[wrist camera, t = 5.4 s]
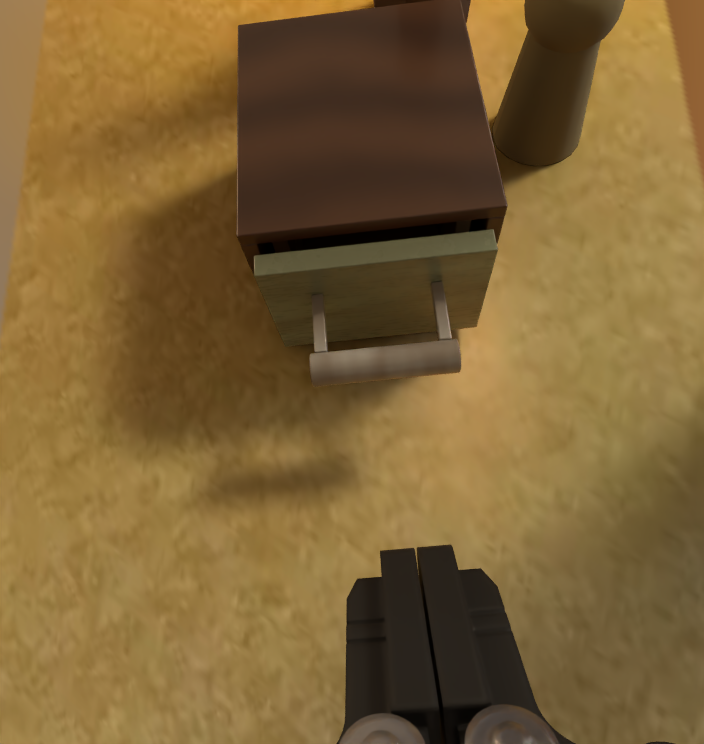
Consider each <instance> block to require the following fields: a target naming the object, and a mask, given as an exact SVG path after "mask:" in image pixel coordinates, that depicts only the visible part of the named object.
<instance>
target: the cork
mask: <svg viewBox="0 0 704 744" xmlns="http://www.w3.org/2000/svg"><path fill="white" fill-rule="evenodd" d="M624 2H625V0H525V4H524V6H525V20H526V25H527V27H528V29H529V30H528V33H527V35H526V38H525V41H524V44H523V46H522V49H521V52H520V54H519V57H518V60H517V63H516V65H515V68H514V71H513V73H512V76H511V79H510V82H509V84H508V87H507V90H506V92H505V95H504V98H503V101H502V103H501V106H500V109H499V111H498V114H497V117H496V120H495V122H494V125H493V128H492V131H493V140H494V142H495V143H496V145H497V147H498V149H499V150H500V151H501V152H502V153H503V154H505V155H506V156H507V157H509V158H511V159H512V160H514V161H516V162H518V163H523V164H527V165H532V166H538V165H549V164H553V163H557V162H560V161H562V160H563V159H565V158H566V157H568V156H570V155H571V154H572V152H573V151H574V150H575V149H576V147H577V146H578V143H579V139H580V136H581V131H582V126H583V121H584V117H585V112H586V107H587V102H588V98H589V93H590V88H591V84H592V79H593V74H594V69H595V65H596V60H597V55H598V50H599V46H600V41H601V40H602V39H603V38H605V37H606V35H607V34H608V33H609V32H610V31H611V30H612V28H613V27H614V25H615V24H616V22H617V21H618V19H619V16H620V14H621V11H622V9H623V5H624Z"/></svg>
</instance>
